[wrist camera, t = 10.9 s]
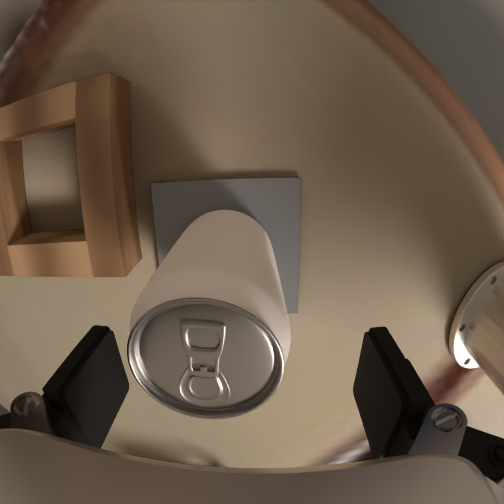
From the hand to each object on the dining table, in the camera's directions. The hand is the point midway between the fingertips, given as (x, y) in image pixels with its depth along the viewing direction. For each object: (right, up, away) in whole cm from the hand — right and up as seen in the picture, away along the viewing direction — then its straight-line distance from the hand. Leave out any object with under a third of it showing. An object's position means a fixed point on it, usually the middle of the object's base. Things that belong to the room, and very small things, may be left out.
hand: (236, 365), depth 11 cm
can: (-1, +4, +11) cm, 12 cm away
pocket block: (-14, +10, +9) cm, 20 cm away
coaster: (-1, +4, +11) cm, 12 cm away
